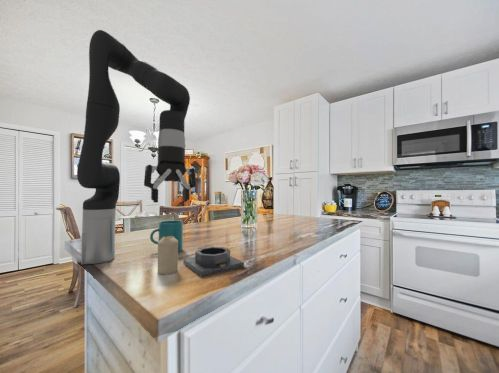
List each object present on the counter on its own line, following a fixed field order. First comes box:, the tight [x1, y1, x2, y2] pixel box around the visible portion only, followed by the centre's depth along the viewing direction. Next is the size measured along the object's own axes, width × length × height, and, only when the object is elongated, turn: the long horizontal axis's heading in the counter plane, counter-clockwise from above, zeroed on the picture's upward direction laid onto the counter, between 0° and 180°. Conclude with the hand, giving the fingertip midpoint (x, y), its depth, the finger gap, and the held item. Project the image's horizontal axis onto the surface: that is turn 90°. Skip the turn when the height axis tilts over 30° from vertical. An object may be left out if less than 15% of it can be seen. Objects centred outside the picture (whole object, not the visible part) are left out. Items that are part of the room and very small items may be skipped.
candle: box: [157, 236, 179, 275], centre depth 64 cm, size 6×6×10 cm
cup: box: [149, 220, 184, 253], centre depth 86 cm, size 9×12×11 cm
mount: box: [182, 246, 245, 278], centre depth 69 cm, size 14×14×4 cm
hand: (170, 202), depth 64 cm, fingers open, 8 cm apart
